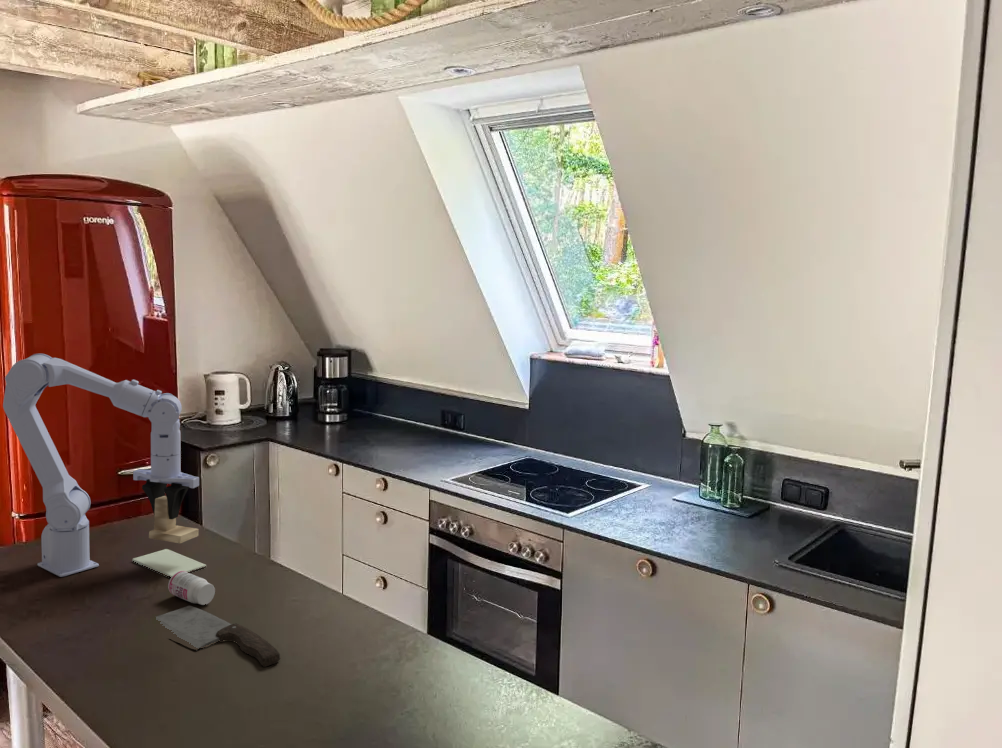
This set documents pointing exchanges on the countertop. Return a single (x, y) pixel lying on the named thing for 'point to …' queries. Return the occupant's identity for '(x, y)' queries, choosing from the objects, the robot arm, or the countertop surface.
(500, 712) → the countertop surface
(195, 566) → the board
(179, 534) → the wooden post on base
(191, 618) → the cleaver
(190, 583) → the pill bottle
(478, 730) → the countertop surface
